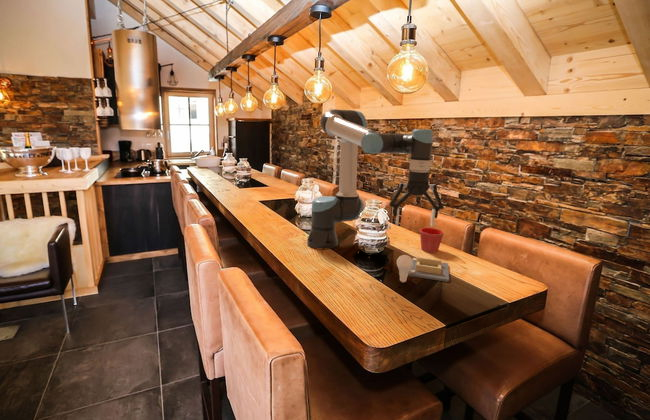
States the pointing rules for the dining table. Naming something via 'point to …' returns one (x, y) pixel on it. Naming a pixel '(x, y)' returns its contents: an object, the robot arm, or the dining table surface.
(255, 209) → the dining table surface
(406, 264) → the lightbulb
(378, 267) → the dining table surface
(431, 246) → the flower pot
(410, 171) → the robot arm
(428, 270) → the board
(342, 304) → the dining table surface
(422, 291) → the dining table surface
